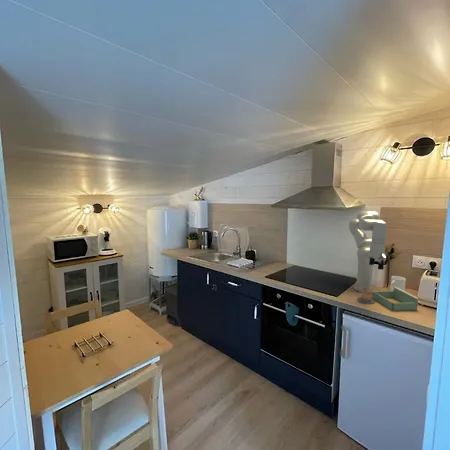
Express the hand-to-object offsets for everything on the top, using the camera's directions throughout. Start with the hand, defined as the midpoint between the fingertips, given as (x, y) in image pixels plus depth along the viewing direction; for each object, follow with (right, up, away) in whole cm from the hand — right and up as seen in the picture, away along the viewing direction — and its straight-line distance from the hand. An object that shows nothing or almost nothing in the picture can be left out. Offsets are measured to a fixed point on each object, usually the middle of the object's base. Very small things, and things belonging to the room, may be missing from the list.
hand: (376, 267), depth 169 cm
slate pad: (-5, -23, +3) cm, 23 cm away
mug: (+24, -21, +18) cm, 37 cm away
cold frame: (+10, -23, -1) cm, 25 cm away
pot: (-5, -22, +3) cm, 23 cm away
